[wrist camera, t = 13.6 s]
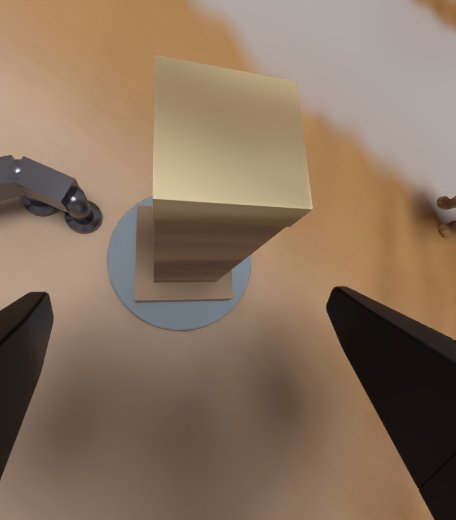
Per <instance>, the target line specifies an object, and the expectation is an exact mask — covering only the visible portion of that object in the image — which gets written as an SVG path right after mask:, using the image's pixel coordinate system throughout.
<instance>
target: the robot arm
mask: <svg viewBox="0 0 456 520" xmlns="http://www.w3.org/2000/svg"><path fill="white" fill-rule="evenodd" d="M326 310H327V313H328V315H329V318H330V320H331V323H332V325H333V327H334V330H335V332H336V335H337V337H338V339H339V342H340V344H341V346H342V348H343V350H344V352H345V354H346V356H347V358H348V360H349V362H350V364H351V365H352V367H353V369H354V371H355V373H356V375H357V377H358V378H359V380H360V382H361V384H362V386H363V388H364V390H365V391H366V393H367V395H368V397H369V399H370V401H371V403H372V404H373V406H374V408H375V410H376V412H377V414H378V415H379V417H380V419H381V421H382V423H383V425H384V427H385V428H386V430H387V432H388V434H389V436H390V438H391V440H392V441H393V443H394V445H395V447H396V449H397V451H398V453H399V454H400V456H401V458H402V460H403V462H404V464H405V466H406V467H407V469H408V471H409V473H410V475H411V477H412V478H413V480H414V482H415V484H416V486H417V488H419V492H420V494H421V496H422V497H423V499H424V501H425V503H426V505H427V507H428V509H429V510H430V512H431V514H432V516H433V518H434V520H456V340H453V339H452V338H450V337H448V336H446V335H444V334H442V333H440V332H438V331H436V330H434V329H432V328H430V327H428V326H426V325H423V324H421V323H419V322H417V321H415V320H413V319H411V318H409V317H407V316H405V315H403V314H401V313H399V312H397V311H395V310H393V309H391V308H389V307H387V306H385V305H383V304H381V303H379V302H377V301H375V300H373V299H371V298H369V297H366V296H364V295H362V294H360V293H358V292H356V291H354V290H352V289H350V288H348V287H345V286H337V287H334V288H333V290H332V292H331V294H330V297H329V299H328V302H327V305H326ZM52 325H53V311H52V306H51V302H50V297H49V294H48V293H47V292H30V293H28V294H26V295H24V296H23V297H21V298H20V299H18V300H16V301H15V302H13V303H12V304H10V305H8V306H7V307H5V308H4V309H2V310H1V311H0V479H1V477H2V474H3V471H4V469H5V466H6V464H7V461H8V458H9V456H10V453H11V450H12V448H13V445H14V443H15V440H16V437H17V435H18V432H19V429H20V427H21V424H22V422H23V419H24V416H25V414H26V411H27V408H28V406H29V403H30V401H31V398H32V395H33V393H34V390H35V387H36V385H37V382H38V379H39V376H40V374H41V370H42V366H43V362H44V358H45V354H46V350H47V346H48V342H49V338H50V334H51V329H52Z"/></svg>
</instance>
